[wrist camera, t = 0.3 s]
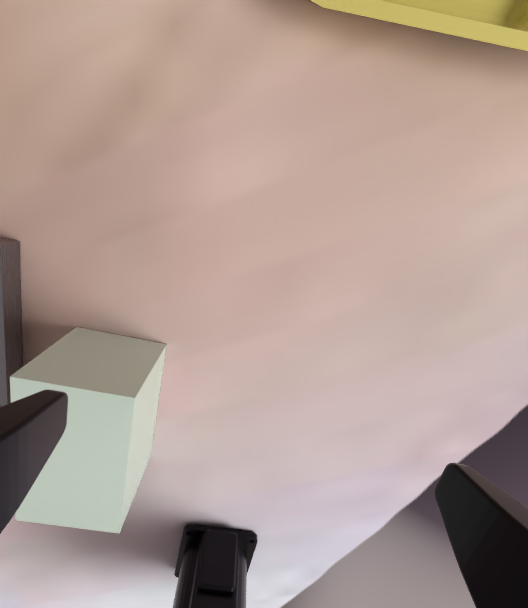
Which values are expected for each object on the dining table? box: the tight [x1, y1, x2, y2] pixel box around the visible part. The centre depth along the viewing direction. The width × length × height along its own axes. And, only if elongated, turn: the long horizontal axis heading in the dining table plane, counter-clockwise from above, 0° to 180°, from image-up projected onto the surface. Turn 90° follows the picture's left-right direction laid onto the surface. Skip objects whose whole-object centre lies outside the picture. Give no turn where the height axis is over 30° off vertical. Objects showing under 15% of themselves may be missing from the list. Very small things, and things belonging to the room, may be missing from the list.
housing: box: [10, 327, 167, 534], centre depth 20 cm, size 10×6×6 cm, turn 167°
